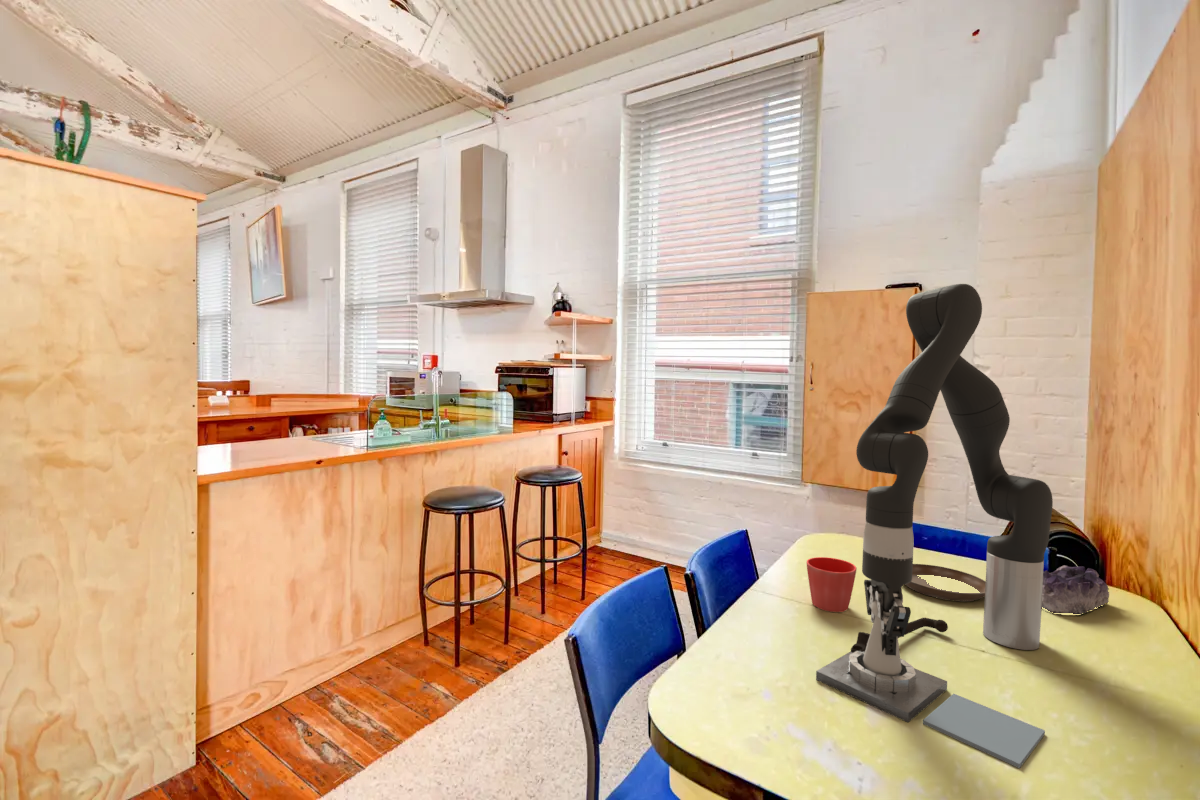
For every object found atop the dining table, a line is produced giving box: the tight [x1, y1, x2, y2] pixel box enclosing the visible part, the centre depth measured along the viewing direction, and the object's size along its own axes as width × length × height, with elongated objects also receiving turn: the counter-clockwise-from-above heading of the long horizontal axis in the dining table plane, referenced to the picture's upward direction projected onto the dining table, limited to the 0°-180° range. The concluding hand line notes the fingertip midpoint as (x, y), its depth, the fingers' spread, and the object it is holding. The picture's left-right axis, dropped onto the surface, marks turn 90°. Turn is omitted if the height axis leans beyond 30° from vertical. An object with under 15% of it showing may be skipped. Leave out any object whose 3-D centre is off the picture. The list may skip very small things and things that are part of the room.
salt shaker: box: [863, 600, 902, 676], centre depth 94 cm, size 6×6×13 cm
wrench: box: [850, 617, 949, 653], centre depth 107 cm, size 5×5×30 cm
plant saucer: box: [904, 563, 986, 602], centre depth 141 cm, size 21×21×3 cm
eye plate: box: [815, 650, 948, 723], centre depth 95 cm, size 15×15×4 cm
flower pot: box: [806, 556, 857, 613], centre depth 128 cm, size 11×11×10 cm
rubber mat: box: [922, 693, 1046, 769], centre depth 83 cm, size 12×12×1 cm
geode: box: [1042, 564, 1110, 614], centre depth 131 cm, size 20×12×10 cm, turn 123°
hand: (883, 650), depth 94 cm, fingers closed on salt shaker, 3 cm apart
